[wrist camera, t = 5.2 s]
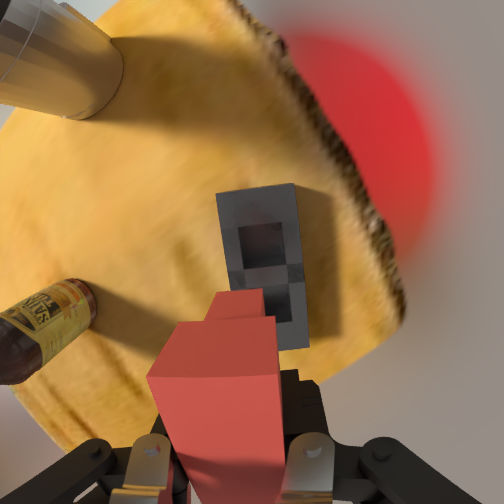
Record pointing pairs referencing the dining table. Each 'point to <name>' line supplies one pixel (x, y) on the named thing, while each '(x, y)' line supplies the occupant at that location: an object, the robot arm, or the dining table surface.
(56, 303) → the sauce bottle
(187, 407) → the red block
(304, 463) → the robot arm
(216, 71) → the dining table surface
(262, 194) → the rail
